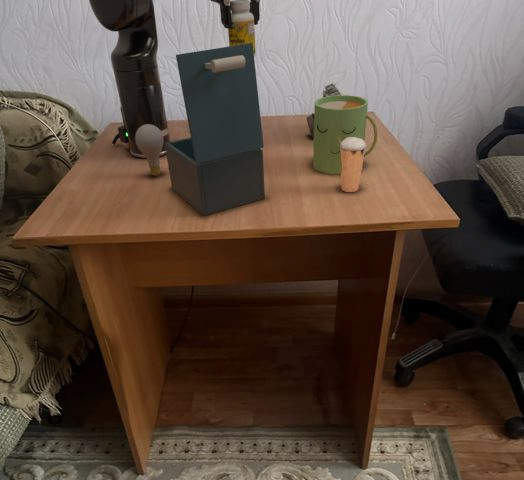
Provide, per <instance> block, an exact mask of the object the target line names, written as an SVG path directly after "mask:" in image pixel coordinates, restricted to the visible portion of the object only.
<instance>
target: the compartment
mask: <svg viewBox="0 0 524 480" xmlns="http://www.w3.org/2000/svg"><path fill="white" fill-rule="evenodd" d="M165 149H166V154H165V156H166V161H167V166H168V172H169V179H170V184H171V190H173V192H175V193H176V194H177V195H179V196H180V197H181V198H182V199H183V200H184V201H185V202H186V203H188V204H189V205H190V206H191V207H193V208H194V209H195V210H196V211H197V212H198V213H199V214H200V215H201V216H203V217H206V216H210V215H212V214H216V213H219V212H222V211H227V210H230V209H233V208H238V207H240V206H244V205H247V204H251V203H254V202H257V201H261V200H264V199H265V198H266V194H265V193H266V191H265V172H264V150H263V149H262V148H260V149H256V150H252V151H248V152H244V153H240V154H236V155H232V156H228V157H224V158H220V159H215V160H211V161H207V162H203V163H199V164H196V163H195V157H194V152H193V146H192V141H191V136H190V137H185V138H181V139H176V140H170V142H167V143H165Z"/></svg>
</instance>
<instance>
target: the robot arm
mask: <svg viewBox="0 0 524 480" xmlns="http://www.w3.org/2000/svg"><path fill="white" fill-rule="evenodd" d="M230 1H231V0H210V2H212V3H216V4H218V5H219V10H220V22H221V25H222V26H223V28H224V29H226V30H228V29H229V28H232V20H231V13H232V11H231V6H230ZM249 1H250V9H249V12H250V13H252V14H253V16H254V26H257V25H258V24H259V21H260V19H261V15H260V13H261V12H260V3H261V0H249ZM88 2H89V4H90V7H91V10H92V12H93V15H94V16H95V18H96V20H97V21H98V23H99V24H100V25H101V26H102V27H103V28H104V29H106V30H107V31H110V32H115V33H116V32H117V35H118V36H117V37H118V38H117V41H116V44H115V47H114V48H113V49H112V51H111V53H110V61H111V67H112V70H113V71H112V72H113V75H114V80H115V84H116V88H117V93H118V98H119V102H120V103H119V104H120V107H119V109H120V114H121V119H122V123H123V125H122V126H118V127H117V132H118V133H117V134H116V135H115V136H114V137H113V139H112V142H111V144H112V145H113V146H115V145H116V144H117V141H118V140H120V142H121V143H124V144H127V145H128V146H127V147H128V150H129V152H130V156H133V157H135V158H139V159H140V158H142V159H147V158H146V157H145V156H144V154H143V153H142V152H141V151H140V149H139V148H138V146H137V144H136V140H135V136H136V132H137V130H138V129H139V128H140V127H141V126H143V125H146V124H150V125H154V126H156V127H157V128H158V129H159V130H160V131H161V133H162V135H163V139H164V142H163V147H162V150H161V153H160V156H159V157H162V156H166V149H165V143H167V142H171V139H170V132H169V126H168V119H167V114H166V108H165V101H164V95H163V88H162V82H161V76H160V71H159V65H158V58H157V57H158V49H159V38H158V30H157V21H156V13H155V5H154V0H88Z"/></svg>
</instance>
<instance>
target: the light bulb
mask: <svg viewBox="0 0 524 480" xmlns="http://www.w3.org/2000/svg"><path fill="white" fill-rule="evenodd" d="M135 140H136V144H137V146H138V148H139V149H140V151H141V152H142V153H143V154H144V156H145V157H146V158H145V159H146V161H147V164H148V167H149V172H150V175H151V176H154V177H158V176H159V175H160V174H161V167H160V164H161V162H160V157H161V156H160V153H161V150H162V147H163V142H164V139H163V135H162V133H161V131H160V130H159V129H158V128H157V127H156V126H154V125H150V124H146V125H143V126H141V127H140V128H139V129H138V130H137V132H136V136H135Z"/></svg>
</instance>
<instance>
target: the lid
mask: <svg viewBox="0 0 524 480" xmlns="http://www.w3.org/2000/svg"><path fill="white" fill-rule="evenodd" d="M175 59H176V65H177V69H178V76H179V80H180V86H181V87H180V88H181V91H182V96H183V102H184V107H185V113H186V119H187V124H188V130H189V135H190V137H191V141H192V146H193V152H194V157H195V163H196V164H199V163H203V162H207V161H211V160H215V159H220V158H224V157H228V156H232V155H236V154H240V153H244V152H248V151H252V150H256V149H264V148H265V145H264V136H263V128H262V117H261V109H260V100H259V92H258V91H259V90H258V81H257V80H258V79H257V73H256V72H257V71H256V63H255V61H256V60H255V57H254V52H253V43H248V44H242V45H235V46H229V45H228V46H224V47H217V48H210V49H203V50H197V51H191V52H185V53H179V54H177V53H176V54H175Z"/></svg>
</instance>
